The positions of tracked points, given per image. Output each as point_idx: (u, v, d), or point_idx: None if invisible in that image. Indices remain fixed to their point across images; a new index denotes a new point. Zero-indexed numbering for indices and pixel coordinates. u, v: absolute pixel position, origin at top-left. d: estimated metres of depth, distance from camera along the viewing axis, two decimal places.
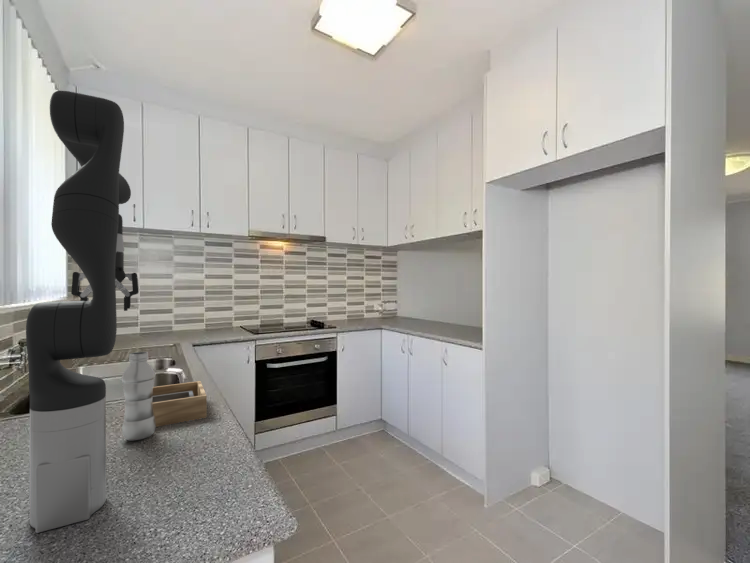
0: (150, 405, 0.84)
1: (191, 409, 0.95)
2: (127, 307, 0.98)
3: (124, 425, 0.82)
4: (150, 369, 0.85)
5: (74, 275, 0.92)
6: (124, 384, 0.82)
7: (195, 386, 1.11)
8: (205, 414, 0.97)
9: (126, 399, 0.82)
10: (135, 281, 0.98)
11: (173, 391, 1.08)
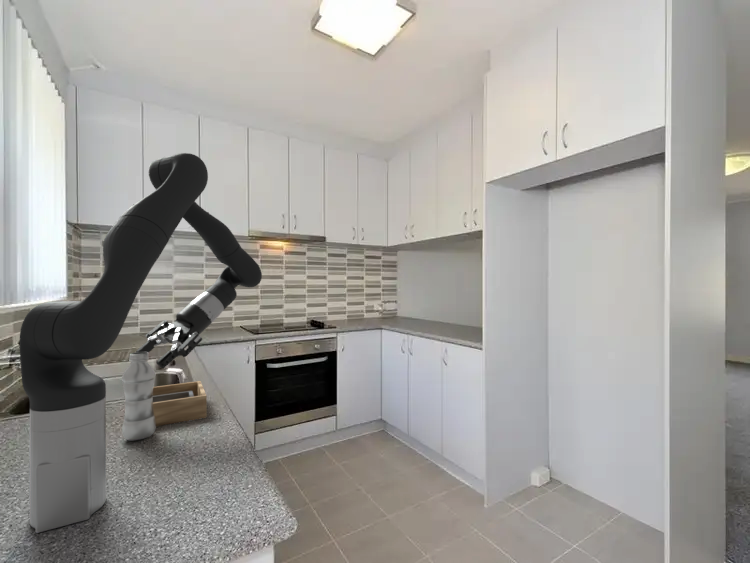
0: (150, 405, 0.84)
1: (191, 409, 0.95)
2: (161, 361, 0.82)
3: (124, 425, 0.82)
4: (150, 369, 0.85)
5: (162, 322, 0.92)
6: (124, 384, 0.82)
7: (195, 386, 1.11)
8: (205, 414, 0.97)
9: (126, 399, 0.82)
10: (189, 339, 0.85)
11: (173, 391, 1.08)
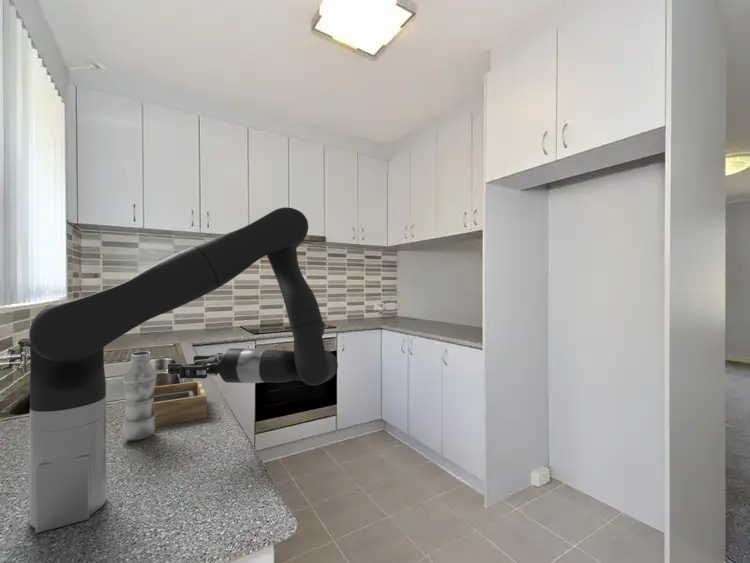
0: (151, 406, 0.84)
1: (191, 409, 0.95)
2: (170, 365, 0.78)
3: (124, 425, 0.81)
4: (152, 370, 0.83)
5: None
6: (125, 385, 0.81)
7: (195, 386, 1.11)
8: (205, 414, 0.97)
9: (127, 399, 0.81)
10: (194, 366, 0.75)
11: (173, 391, 1.08)
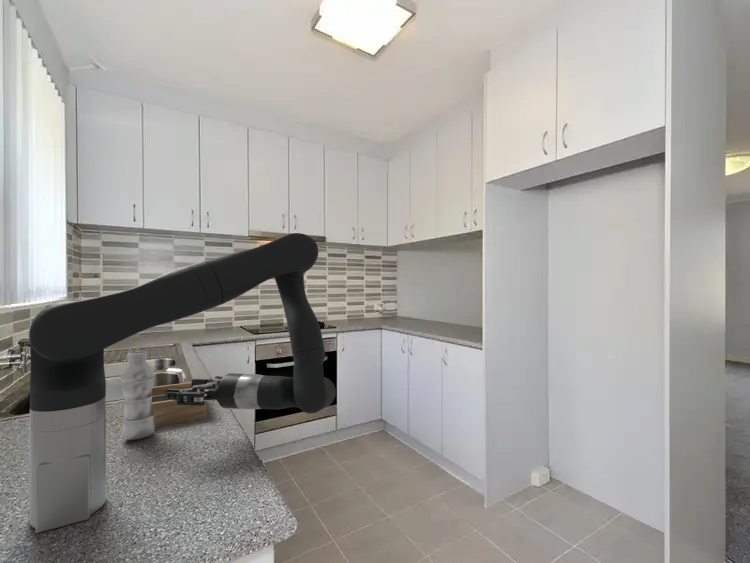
0: (149, 404, 0.85)
1: (191, 409, 0.95)
2: (168, 391, 0.78)
3: (124, 424, 0.82)
4: (149, 368, 0.85)
5: None
6: (123, 383, 0.82)
7: None
8: (205, 414, 0.97)
9: (125, 398, 0.82)
10: (192, 393, 0.75)
11: None
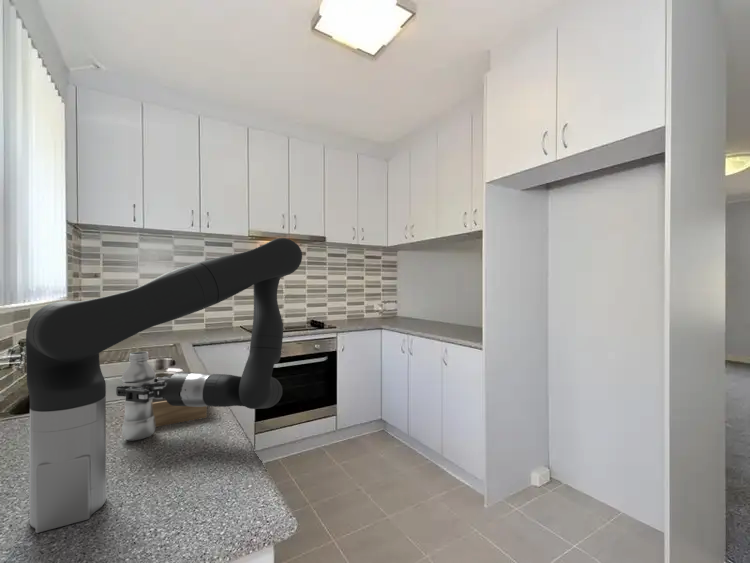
0: (150, 405, 0.85)
1: (191, 409, 0.95)
2: (119, 387, 0.81)
3: (124, 425, 0.82)
4: (150, 369, 0.85)
5: None
6: (124, 384, 0.82)
7: None
8: (205, 414, 0.97)
9: None
10: (138, 390, 0.78)
11: None
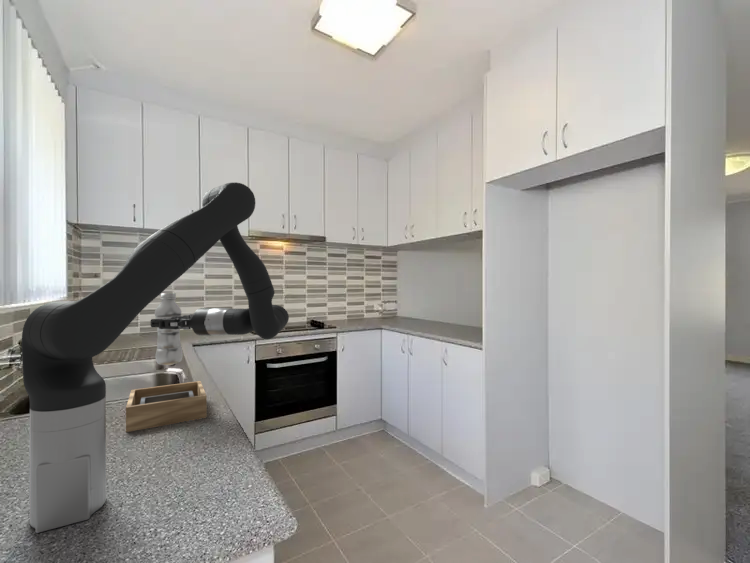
0: (178, 337, 1.00)
1: (191, 409, 0.95)
2: (153, 320, 0.97)
3: (157, 352, 0.98)
4: (178, 307, 1.01)
5: None
6: (157, 317, 0.98)
7: (195, 386, 1.11)
8: (205, 414, 0.97)
9: (159, 330, 0.98)
10: (169, 319, 0.93)
11: (173, 391, 1.08)
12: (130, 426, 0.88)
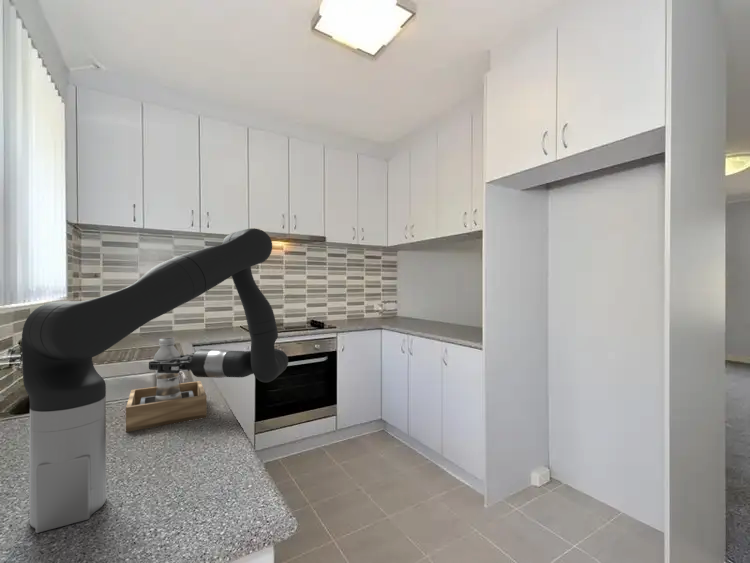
0: (177, 382, 1.00)
1: (191, 409, 0.95)
2: (151, 362, 0.96)
3: (156, 398, 0.98)
4: (177, 352, 1.01)
5: None
6: None
7: (195, 386, 1.11)
8: (205, 414, 0.97)
9: (158, 377, 0.98)
10: (170, 363, 0.93)
11: None
12: (130, 426, 0.88)
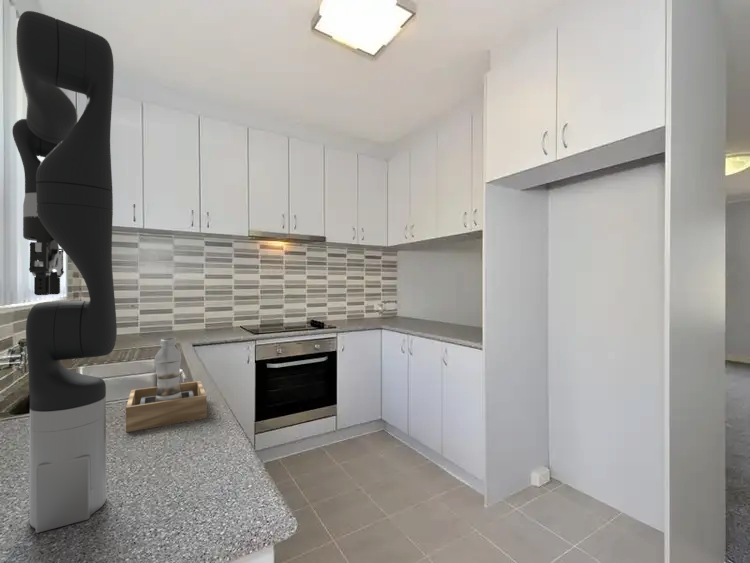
0: (178, 383, 1.00)
1: (191, 409, 0.95)
2: (35, 290, 0.71)
3: (157, 399, 0.98)
4: (178, 352, 1.01)
5: None
6: (157, 364, 0.98)
7: (195, 386, 1.11)
8: (205, 414, 0.97)
9: (158, 377, 0.98)
10: None
11: None
12: (130, 426, 0.88)
